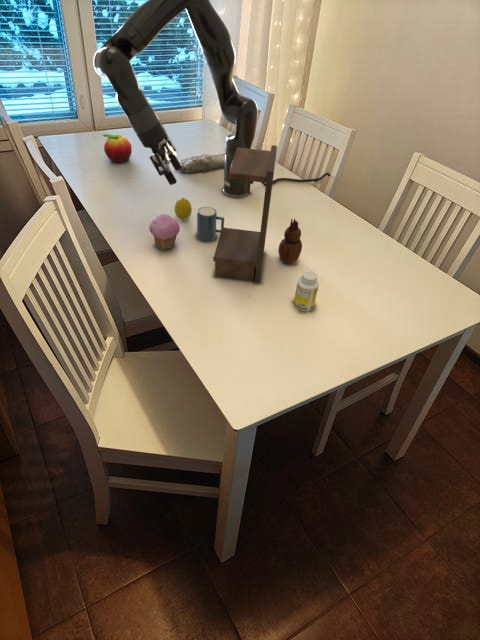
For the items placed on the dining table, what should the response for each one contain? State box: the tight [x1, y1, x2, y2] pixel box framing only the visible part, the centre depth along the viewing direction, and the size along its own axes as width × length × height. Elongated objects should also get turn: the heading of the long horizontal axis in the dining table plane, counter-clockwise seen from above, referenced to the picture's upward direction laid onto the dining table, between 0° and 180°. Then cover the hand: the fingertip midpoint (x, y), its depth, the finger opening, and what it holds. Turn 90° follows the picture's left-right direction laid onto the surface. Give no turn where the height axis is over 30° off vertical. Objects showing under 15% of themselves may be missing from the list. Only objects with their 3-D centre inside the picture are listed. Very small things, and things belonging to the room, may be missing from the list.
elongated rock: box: [177, 153, 225, 173], centre depth 179 cm, size 35×5×10 cm
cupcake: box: [148, 213, 181, 250], centre depth 132 cm, size 9×9×10 cm
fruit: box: [102, 133, 133, 163], centre depth 175 cm, size 11×11×10 cm
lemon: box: [174, 197, 193, 221], centre depth 145 cm, size 6×6×8 cm
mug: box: [196, 206, 225, 243], centre depth 138 cm, size 8×6×9 cm
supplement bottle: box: [293, 270, 320, 312], centre depth 115 cm, size 6×6×10 cm
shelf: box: [212, 145, 278, 284], centre depth 120 cm, size 14×16×33 cm
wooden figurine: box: [277, 218, 303, 265], centre depth 129 cm, size 7×6×15 cm
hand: (176, 176), depth 130 cm, fingers open, 8 cm apart
